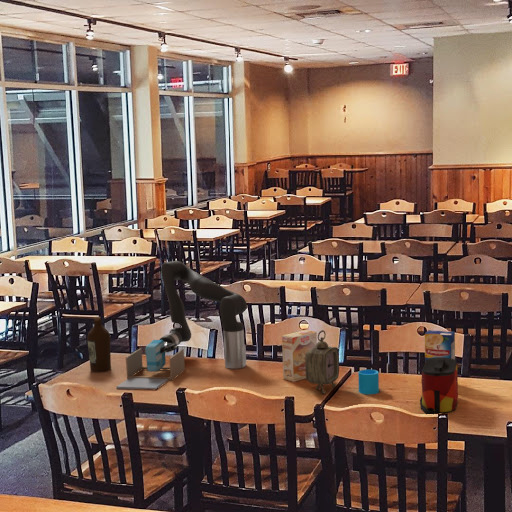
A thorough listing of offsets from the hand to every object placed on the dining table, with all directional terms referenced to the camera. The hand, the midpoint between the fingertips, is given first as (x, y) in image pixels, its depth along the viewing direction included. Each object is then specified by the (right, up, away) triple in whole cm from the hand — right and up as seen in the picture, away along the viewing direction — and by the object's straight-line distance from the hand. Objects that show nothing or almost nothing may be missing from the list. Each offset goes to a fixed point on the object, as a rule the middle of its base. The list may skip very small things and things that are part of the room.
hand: (155, 351), depth 393 cm
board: (-4, -13, -15) cm, 20 cm away
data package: (0, -8, +1) cm, 8 cm away
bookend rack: (0, -11, +1) cm, 11 cm away
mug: (+92, -12, -37) cm, 99 cm away
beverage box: (+121, -10, -33) cm, 126 cm away
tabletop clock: (+73, -13, -34) cm, 81 cm away
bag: (+115, -14, -60) cm, 130 cm away
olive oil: (-27, -10, +14) cm, 33 cm away
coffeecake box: (+65, -10, -12) cm, 67 cm away
